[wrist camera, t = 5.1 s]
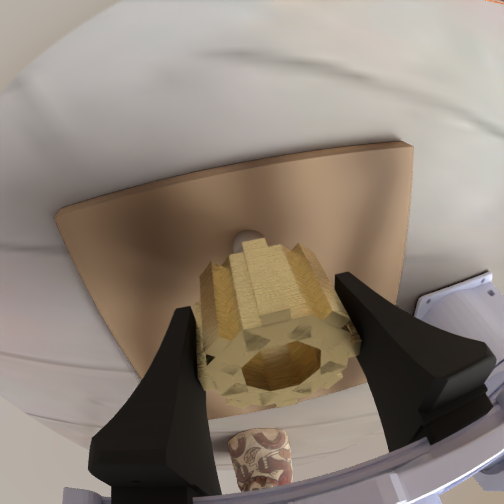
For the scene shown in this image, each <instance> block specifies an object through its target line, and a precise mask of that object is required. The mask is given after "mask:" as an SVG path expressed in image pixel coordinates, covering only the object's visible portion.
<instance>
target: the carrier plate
mask: <svg viewBox="0 0 504 504" xmlns="http://www.w3.org/2000/svg"><path fill="white" fill-rule="evenodd" d="M413 151H414V146H411V145H409V144H407V143H405V142H403V141H398V142H386V143H375V144H365V145H356V146H347V147H339V148H331V149H323V150H316V151H309V152H302V153H295V154H289V155H282V156H276V157H270V158H265V159H259V160H253V161H248V162H242V163H237V164H232V165H227V166H222V167H217V168H212V169H207V170H203V171H198V172H194V173H189V174H185V175H180V176H176V177H172V178H168V179H163V180H159V181H155V182H151V183H147V184H143V185H140V186H136V187H132V188H128V189H125V190H121V191H117V192H114V193H110V194H107V195H103V196H100V197H96V198H93V199H90V200H86V201H83V202H80V203H76V204H73V205H70V206H67V207H64V208H61V209H60V211H59V212H58V213H57V214H56V215H55V217H54V220H55V222H56V224H57V227H58V229H59V231H60V234H61V236H62V238H63V240H64V243H65V245H66V247H67V249H68V251H69V254H70V256H71V258H72V260H73V262H74V264H75V266H76V268H77V270H78V272H79V274H80V276H81V278H82V280H83V282H84V284H85V286H86V288H87V290H88V292H89V293H90V295H91V297H92V299H93V301H94V303H95V304H96V306H97V308H98V310H99V312H100V313H101V315H102V317H103V319H104V320H105V322H106V324H107V326H108V327H109V329H110V331H111V332H112V334H113V336H114V337H115V339H116V340H117V342H118V344H119V345H120V347H121V349H122V350H123V352H124V353H125V355H126V356H127V358H128V359H129V361H130V362H131V364H132V366H133V367H134V369H135V370H136V372H137V373H138V374H139V376H140V377H141V379H143V377H144V375H145V374H146V372H147V370H148V369H149V367H150V365H151V363H152V361H153V359H154V357H155V355H156V353H157V351H158V349H159V347H160V345H161V343H162V340H163V338H164V336H165V334H166V331H167V329H168V326H169V324H170V321H171V319H172V316H173V313H174V311H175V309H176V308H181V307H186V306H191V309H192V311H193V314H194V317H195V302H198V301H200V279H199V276H200V275H201V274H202V272H203V271H204V270H205V268H206V267H207V266H208V264H209V263H210V262H211V261H213V262H215V263H217V264H219V265H221V264H222V263H223V262H224V261H225V259H226V258H227V257H228V255H231V254H236V253H241V252H244V251H243V246H242V242H246V241H251V240H255V239H260V238H265V240H266V243H267V245H268V247H269V246H274V245H279V244H281V245H283V246H284V247H286V248H288V249H289V250H292V249H293V248H294V247H295V246H296V245H297V243H300V244H302V245H303V246H305V247H306V248H308V249H310V250H311V251H313V252H314V253H315V255H316V257H317V259H318V260H319V262H320V264H321V266H322V268H323V269H324V271H325V273H326V274H327V276H328V278H329V280H330V282H331V283H332V285H333V287H334V289H335V274H339V273H343V272H347V271H348V272H350V273H351V274H353V275H354V276H355V277H356V278H358V279H359V280H360V281H362V282H363V283H364V284H366V285H367V286H368V287H370V288H371V289H372V290H374V291H375V292H376V293H378V294H379V295H381V296H382V297H383V298H385V299H386V300H388V301H389V302H391V303H392V304H394V305H395V306H396V301H397V296H398V290H399V285H400V279H401V273H402V267H403V260H404V254H405V246H406V239H407V231H408V222H409V212H410V202H411V189H412V174H413ZM341 373H342V376H343V378H342V379H340V380H339V381H338V382H337V383H335V384H334V385H333V386H331V387H330V388H329V389H325V388H319V389H318V390H317V391H315V392H314V393H313V394H311V395H309V396H305V397H301V398H297V401H298V402H300V401H304V400H308V399H312V398H316V397H320V396H323V395H327V394H330V393H334V392H337V391H341V390H344V389H347V388H350V387H354V386H357V385H360V384H363V383H366V382H367V379H366V376H365V374H364V372H363V370H362V368H361V366H360V364H359V362H358V360H357V358H356V357H355V356H354V357H351V358H348V363H347V367H346V368H345V369H344V370H342V371H341ZM275 407H277V406H276V403H275V404H271V405H266V406H258V405H254V404H250V405H249V406H248V407H246V408H245V409H243V408H239V407H234V406H230V405H226V399H225V398H224V397H220V396H219V393H218V391H217V389H213V390H207V391H206V408H207V418H208V420H209V419H215V418H222V417H228V416H234V415H240V414H245V413H250V412H256V411H261V410H265V409H270V408H275Z"/></svg>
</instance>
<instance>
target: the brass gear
mask: <svg viewBox="0 0 504 504" xmlns="http://www.w3.org/2000/svg"><path fill="white" fill-rule="evenodd" d="M242 246H243V251H244V252H241V253H236V254H231V255H228V257H227V258H226V259H225V261H224V262H223V263H222V264H221V265H219V264H217V263H215V262H213V261H211V262H210V263H209V264H208V266H207V267H206V268H205V270H204V271H203V272H202V274H201V275H200V276H199V279H200V301H198V302H195V320H196V337H197V340H196V352H197V370H198V379H199V381H200V383H201V385H202V387H203V389H204V391H207V390H213V389H217V391H218V393H219V396H220V397H224V398H225V399H226V405H230V406H234V407H239V408H243V409H245V408H246V407H248V406H249V405H250V404H254V405H258V406H266V405H271V404H275V403H276V406H277V408H279V407H283V406H288V405H292V404H296V403H298V401H297V398H301V397H305V396H309V395H311V394H313V393H314V392H315V391H317V390H318V389H319V388H325V389H329V388H330V387H331V386H333V385H334V384H335V383H337V382H338V381H339V380H340V379H342V378H343V376H342V373H341V371H342V370H344V369H345V368H346V367H347V363H348V358H351V357H354V356H357V355H359V353H360V347H361V341H362V340H361V338H360V336H359V334H358V332H357V330H356V328H355V327H354V325H353V323H352V321H351V319H350V317H349V315H348V313H347V311H346V310H345V308H344V306H343V304H342V303H341V301H340V299H339V297H338V295H337V293H336V291H335V289H334V287H333V285H332V283H331V282H330V280H329V278H328V276H327V274H326V273H325V271H324V269H323V268H322V266H321V264H320V262H319V260H318V259H317V257H316V255H315V253H314V252H313V251H311V250H310V249H308V248H306V247H305V246H303V245H302V244H300V243H297V245H296V246H295V247H294V248H293V249H292V250H289V249H288V248H286V247H284V246H283V245H281V244H279V245H274V246H269V247H268V245H267V243H266V240H265V238H260V239H255V240H251V241H246V242H242Z"/></svg>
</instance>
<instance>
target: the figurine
mask: <svg viewBox="0 0 504 504" xmlns="http://www.w3.org/2000/svg"><path fill="white" fill-rule="evenodd" d="M228 448H229V453H230V457H231V460H232V463H233V467H234V470H235V474H236V478H237V484H238V487H239V488H240V490H241V492H247V491H254V490H260V489H265V488H271V487H276V486H281V485H285V484H290V483H292V479H293V471H292V461H291V450H290V443H289V440H288V436H287V434H286V432H285V431H284V430H282V429H273V428H266V429H259V428H257V429H251V430H248V431H245V432H241V433H238V434H237V435H236V436H234V437H233V438H232V439H231V440H230V441H229V442H228Z"/></svg>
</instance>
